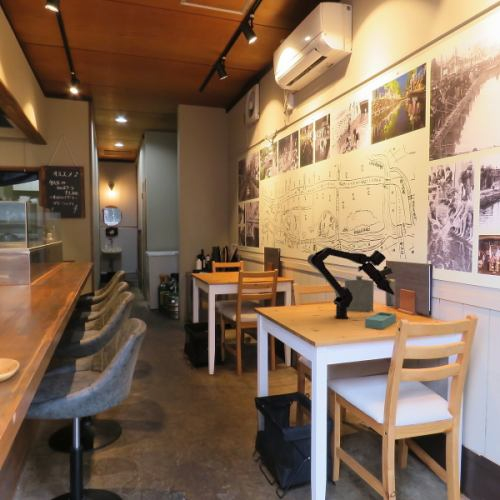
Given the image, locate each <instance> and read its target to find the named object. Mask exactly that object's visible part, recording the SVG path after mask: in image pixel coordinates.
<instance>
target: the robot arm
mask: <svg viewBox="0 0 500 500" xmlns="http://www.w3.org/2000/svg"><path fill="white" fill-rule="evenodd" d="M329 256H333V257H336V258H339V259H340V258H341V259H345V260H347V261H351V262H352V263H355V264H357V265H358V264H359V265H358V267H357V269H358V271H357V272H361V271H363V272H364V273H365V274H366V276H368V278H369V280H373V281H374V285H376V288H377V289H379V290H381V291H383V292H386V293H387V292H388V293H390V294H392V295H394V294H395V295H396V292H395V293H394V292H393V290H392V289H391V287H390V286H389V281H388V280H387V279H388V275H391V274H394V271H393V270H392V267H391V266H389V267H388V266H387V265H385V266H383V269H381V270H380V269H378V268H376V266H377V267H379V266H380V265H381V264H382V263H383V262H384V261H385V260H386V256H385V255H384V254H383V253H382V252H380V251H379V250H378V249H376V250H375V251H374V252H373V253H372V254H371V255H367V254H365V253H361V252H349V251H343V250H339V249H336V248H332V247H329V246H326V247H324V248H322V249H321V250H319V251H317V252H315V253H311V254H309V256H308V257H307V260H306V261H307V263H308V264H309V265H310V266H311V267H312V268H313V269H315V270H317V271H318V272H319V274H320V275H321V276H322V277H323V279H324V280H325V281H326V282H327V283H328V285H330V287H331V289H333V291H334V292H335V296H336V297H335V299H334V300H333V303H334V305H335V307H336V308H335V314H334V317H335V319H349V316H348V311H347V307H349V305H350V303H351V302H352V300H353V296H352V295H351V294H352V293H351V292H350V291H349V289H348V288H346V287H345V286H342V285H341V284H340V283H339V282H338V279H336V277H334V275H333V274H332V273H331V272H330V271H329V269H328V268H327V267H326V265H325V260H326V259H327V258H328V257H329Z"/></svg>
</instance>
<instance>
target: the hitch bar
mask: <svg viewBox="0 0 500 500" xmlns="http://www.w3.org/2000/svg"><path fill="white" fill-rule="evenodd" d="M364 319H365V320H364V321H365V322H364V323H365V325H364V326H365V328H369V329H375V330H377V329H378V330H384V329H386V328H387V327H389V326H391V325H392V324H395V323H396V322H397V314H396V313H392V312H382V311H379V312H376V313H375V314H372V315H370V316H368V317H366V318H364Z"/></svg>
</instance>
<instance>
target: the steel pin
mask: <svg viewBox="0 0 500 500" xmlns="http://www.w3.org/2000/svg"><path fill="white" fill-rule="evenodd" d="M387 280H388V281H389V286H390V287H391V289H392V290H393V292H394V293H395V294H394V295H392V294H390V293H388V292H386V307H388V308H389V307H390V308H392V307H393V308H394V307H396V305H395V304H396V302H395V301H396V296H395V295H396V279H394V278H387Z"/></svg>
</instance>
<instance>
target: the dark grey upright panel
mask: <svg viewBox="0 0 500 500" xmlns="http://www.w3.org/2000/svg"><path fill="white" fill-rule="evenodd" d="M355 278H356V279H345V280H344V287H346V288H348V289H349V291H350V292H351V293H352V294H351V295H352V296H353V300H352V302H351V303H350V305H349V307H347V312H351V311H352V312H368V311H373V312H374V288H375V287H374V285H375V282H374V281H373V280H372V279H365V278H363V276H362V275H356V276H355Z"/></svg>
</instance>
